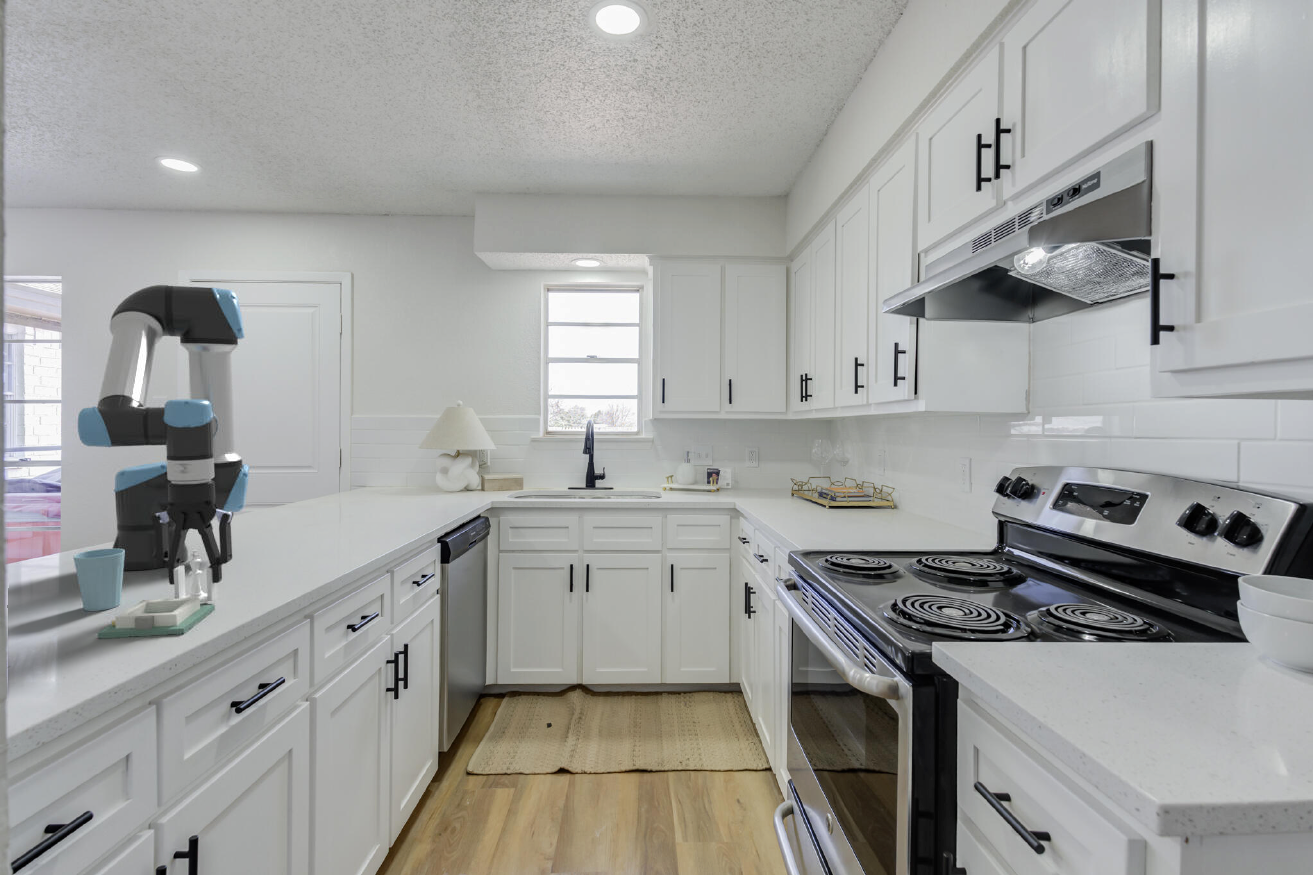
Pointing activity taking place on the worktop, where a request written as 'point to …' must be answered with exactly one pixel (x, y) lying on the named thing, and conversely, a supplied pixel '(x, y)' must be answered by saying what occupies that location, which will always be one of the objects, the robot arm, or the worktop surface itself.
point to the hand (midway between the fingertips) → (196, 599)
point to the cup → (100, 578)
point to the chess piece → (196, 580)
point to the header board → (157, 618)
